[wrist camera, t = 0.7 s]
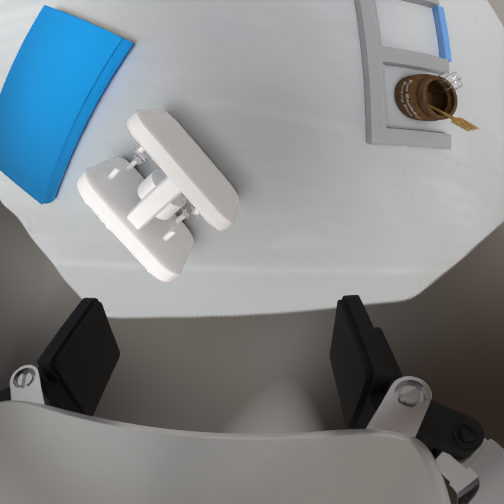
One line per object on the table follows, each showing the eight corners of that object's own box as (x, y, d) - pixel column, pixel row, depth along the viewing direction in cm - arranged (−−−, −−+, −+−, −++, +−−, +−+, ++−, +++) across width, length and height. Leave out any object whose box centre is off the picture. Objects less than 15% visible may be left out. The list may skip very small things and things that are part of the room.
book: (-19, 155, 30) (41, 4, 21) (-2, 149, 34) (58, 9, 25) (45, 207, 35) (124, 37, 25) (61, 198, 38) (138, 43, 29)
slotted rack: (350, -21, 24) (355, -27, 22) (435, -2, 23) (442, -5, 21) (366, 142, 34) (371, 143, 32) (448, 147, 33) (456, 150, 31)
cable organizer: (246, 198, 38) (241, 234, 27) (185, 245, 41) (162, 293, 30) (169, 108, 33) (132, 108, 22) (113, 164, 36) (64, 186, 25)
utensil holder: (423, 73, 29) (479, 67, 18) (435, 117, 32) (492, 126, 21) (387, 79, 30) (437, 70, 19) (400, 125, 33) (453, 135, 22)
